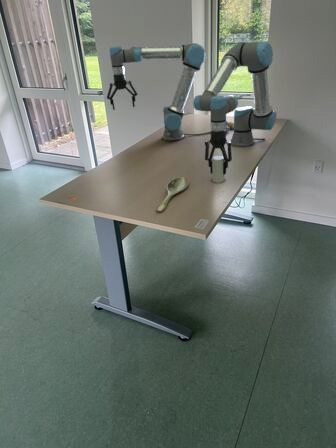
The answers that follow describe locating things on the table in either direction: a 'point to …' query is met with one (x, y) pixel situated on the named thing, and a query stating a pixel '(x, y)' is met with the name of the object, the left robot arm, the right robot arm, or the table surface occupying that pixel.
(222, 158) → the canister
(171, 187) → the spoon
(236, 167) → the table surface
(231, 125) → the spray gun
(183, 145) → the table surface
